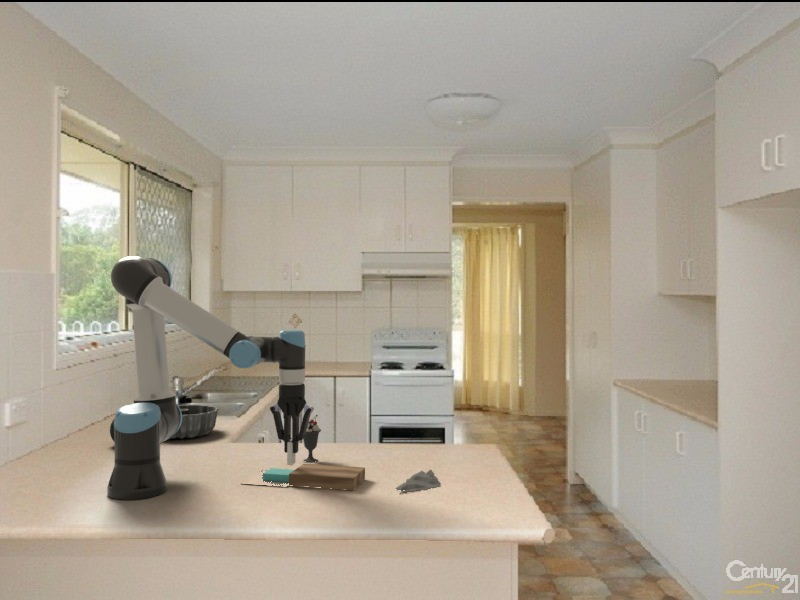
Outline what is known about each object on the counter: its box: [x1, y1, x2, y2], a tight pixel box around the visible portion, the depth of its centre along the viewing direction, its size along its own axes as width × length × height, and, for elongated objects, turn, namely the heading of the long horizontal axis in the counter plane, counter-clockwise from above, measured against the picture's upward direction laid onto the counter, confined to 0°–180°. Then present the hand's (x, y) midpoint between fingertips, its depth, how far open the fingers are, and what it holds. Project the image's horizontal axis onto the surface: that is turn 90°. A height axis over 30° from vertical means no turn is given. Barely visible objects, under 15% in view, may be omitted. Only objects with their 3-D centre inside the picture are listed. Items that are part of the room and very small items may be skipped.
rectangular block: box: [263, 467, 295, 482], centre depth 199 cm, size 6×9×2 cm, turn 78°
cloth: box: [395, 469, 442, 495], centre depth 196 cm, size 26×14×2 cm, turn 146°
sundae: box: [302, 414, 322, 463], centre depth 221 cm, size 7×7×15 cm
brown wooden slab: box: [289, 463, 366, 491], centre depth 196 cm, size 12×19×4 cm, turn 78°
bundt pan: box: [170, 404, 219, 440], centre depth 259 cm, size 26×26×10 cm
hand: (291, 463), depth 198 cm, fingers closed
